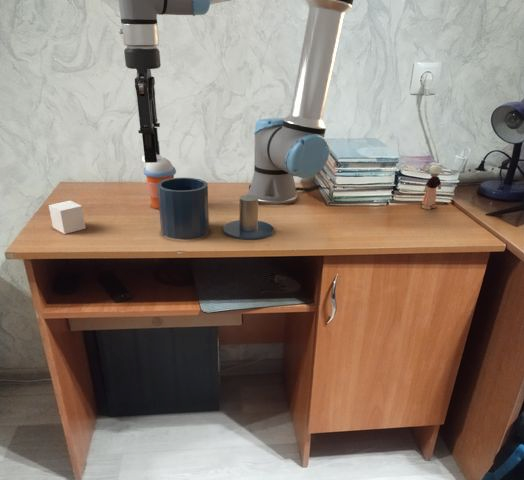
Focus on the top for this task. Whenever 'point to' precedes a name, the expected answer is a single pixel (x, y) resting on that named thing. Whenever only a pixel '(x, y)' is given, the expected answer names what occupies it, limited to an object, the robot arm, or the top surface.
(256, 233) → the tin lid
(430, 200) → the grandmother figurine
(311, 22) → the robot arm
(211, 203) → the top surface
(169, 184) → the tin
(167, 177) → the cup with straw
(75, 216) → the white cube
